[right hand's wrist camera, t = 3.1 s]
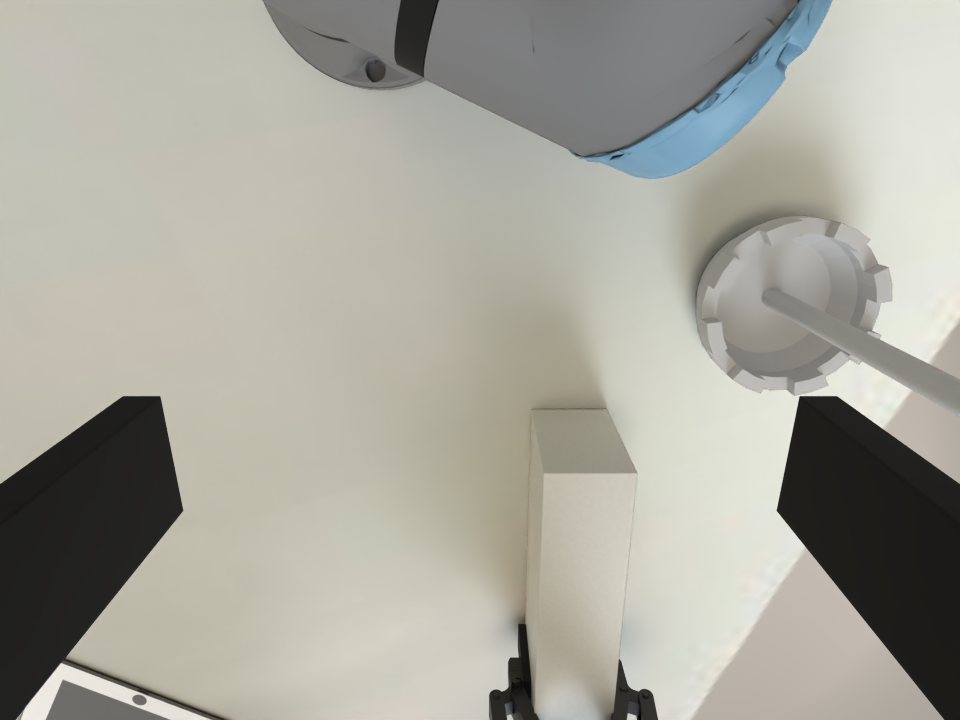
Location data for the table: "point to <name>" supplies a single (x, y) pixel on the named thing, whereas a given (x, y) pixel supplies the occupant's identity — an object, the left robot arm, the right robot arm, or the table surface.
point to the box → (576, 561)
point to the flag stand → (804, 310)
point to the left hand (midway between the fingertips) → (559, 635)
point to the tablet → (100, 699)
